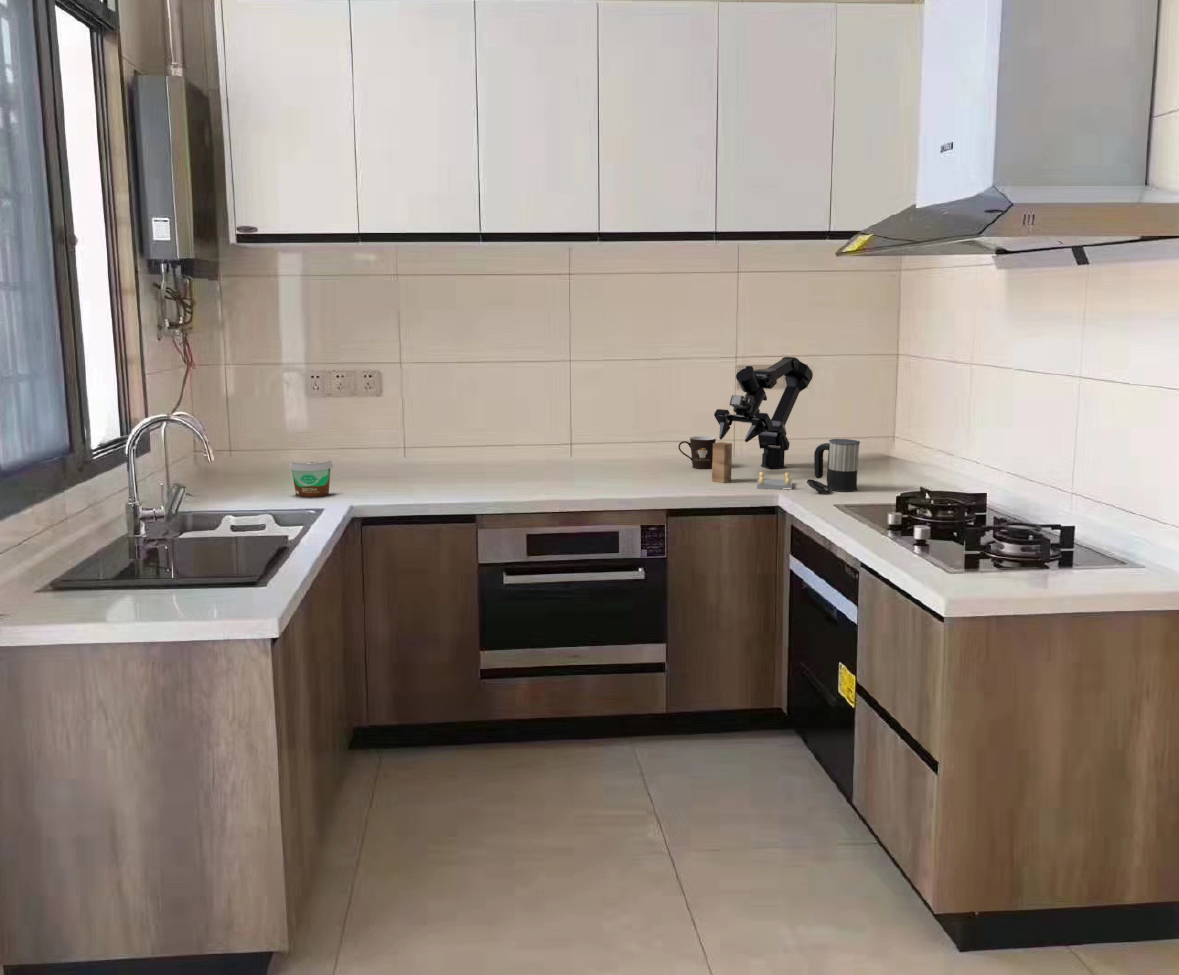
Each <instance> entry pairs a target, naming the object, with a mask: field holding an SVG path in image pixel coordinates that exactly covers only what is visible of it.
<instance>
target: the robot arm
mask: <svg viewBox="0 0 1179 975" xmlns="http://www.w3.org/2000/svg"><path fill="white" fill-rule="evenodd" d="M813 374H814V373H813V370H812V369H811V368H810V367H809V366H808V365H807V364H805V363H803V362H802V361H800V360H799V358H797V357H796V356H795V357H793V356H784V357H782V358H781V359H780V360H779V361H777V362H775V363H774V364H772V365H771V366H769V367H767V368H759V369H754V368H753V365H746V367H745V368H742V369H740V370H739V371H737V372H736V375H735V379H736V381H737V383H738V385H739V387H740V388H741V390H742V392H743V393H745V395H737V394H732V395H731V397H730V400H729V407H733V412H734V413H730V411H729V409H723V408H722V409H721V408H717V409H716V410H715V411H714V413H713V416H714V418H715V419H716V422H717V423H718V425H719V434H718V435H719V436H718V438H719V440H723V438H725V436H726V435H727V433H728V432H729V430H730V429H731V426H732V425H733V422H740V423H745V424H751V425H750V428H749V430H748V432H747V434H746V436H745V438H744V442H745V443H748V442H750V441H751V440H752V439H754V438H756V437H757V439H758V445H759V449H761V450H763V453H761V454H762V455H761V457H762V459H761V460H762V461H761V464H760V466H761V467H763V468H766V469H770V470H772V469H775V470H777V469H786V468H787V466H785V454H786V453H785V451H789V448H790V444H791V443H790V441H789V439H788V437H787V429H786V424H787V422H788V419H789V418H790V416H791V413H792V410H793V408H794V406H795V403H796V402H797V399H798V397H799V394H800V392H802V391H804V390H805V389H807V388H808V387H809V384H810V383H811V381H813ZM783 376H784V380H785V384H786V386H785V388H784V391H783V393H782V395H781V397H780V399H779V402H778V404H777V406H776V407H775V410H774V413H773V415H772V416H771V417H772V418H770V415H769V413H767V412H761V411H760V406H761V405H762V402H763V401H768V396H767V394H766V391H765V389H767V390H769V389H770V390H771V389H773V388H774V387H775V386H776V385H777V383H778V382H777V381H778V380H779V379H780V378H782V377H783Z"/></svg>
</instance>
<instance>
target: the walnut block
mask: <svg viewBox="0 0 1179 975" xmlns="http://www.w3.org/2000/svg"><path fill="white" fill-rule="evenodd" d="M732 458H733V443H732V442H724V441H719V442H715V443H713V460H712V468H711V472H712V473H711V482H713V483H719V484H726V483H729V482H732V462H733V459H732Z"/></svg>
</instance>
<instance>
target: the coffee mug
mask: <svg viewBox="0 0 1179 975" xmlns="http://www.w3.org/2000/svg"><path fill="white" fill-rule="evenodd" d="M716 440H717V438H716V437H714V436H707V435H701V436H700V435H699V436H697V435H696V436H691V437H689V441H686V440H684V441H680V442H679V444H678V450H679V451H680V453H681V454H682V455H683V456H685V457H687V458H688V459H689V460H690V461H691V464H692V469H695V470H712V460H713V443H717V442H716ZM683 444H687V445H688V447H689V449H690V453H691V454H690V455H691V456H690V455H688V454H686V453H685V452H684V451H683V450H682V449H681V445H683Z"/></svg>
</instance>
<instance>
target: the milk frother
mask: <svg viewBox="0 0 1179 975" xmlns="http://www.w3.org/2000/svg"><path fill="white" fill-rule="evenodd" d="M860 444H861V441H860V440H856V439H849V438H831V439H829V440H828V442H825V443H824V442H823V443H821V444H819V445H818V446H816V448H815V449H814V456H813V457H814V458H813V459H814V460H813V462H814V464H813V465H814V466H813V467H814V468H813V469H814V477H815V479H821V478H823V476H824V452H825V451H828V455H827V470H826V484H824V483H822V482H820V481H817V480H814V479H807V480H806V484H807V485H808V486H809V487H811V488H812V489H813V490H815V491H816V492H818V494H822V493H825V494H827V493H831V491H835V492H843V493H845V492H846V493H847V492H850V493H851V492H855V491H857V490H858V465H859V453H860V452H859V451H860Z"/></svg>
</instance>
